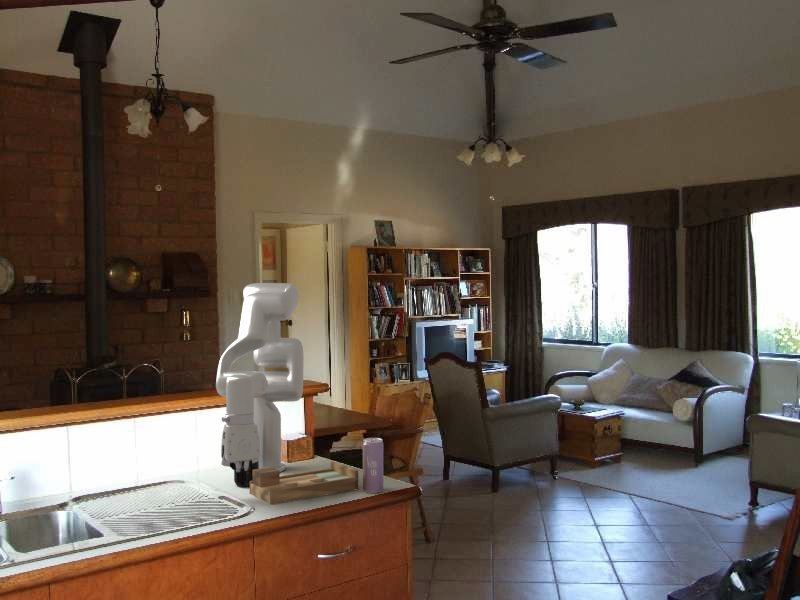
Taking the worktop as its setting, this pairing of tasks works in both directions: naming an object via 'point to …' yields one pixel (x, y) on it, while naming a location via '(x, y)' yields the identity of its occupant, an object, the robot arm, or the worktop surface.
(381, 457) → the beverage can
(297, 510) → the worktop surface
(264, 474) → the walnut block
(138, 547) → the worktop surface
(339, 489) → the trap trough
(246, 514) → the worktop surface
